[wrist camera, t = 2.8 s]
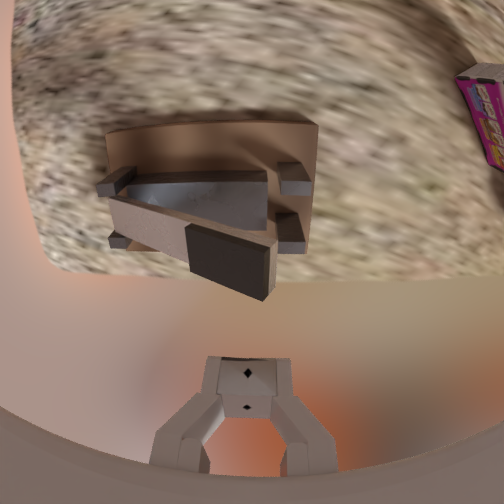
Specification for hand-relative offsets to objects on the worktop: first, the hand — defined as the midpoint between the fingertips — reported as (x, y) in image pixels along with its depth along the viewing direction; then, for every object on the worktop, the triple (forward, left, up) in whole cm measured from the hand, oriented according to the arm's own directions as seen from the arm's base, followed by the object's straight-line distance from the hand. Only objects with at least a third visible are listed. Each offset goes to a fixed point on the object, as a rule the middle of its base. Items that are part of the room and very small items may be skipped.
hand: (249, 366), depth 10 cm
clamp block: (-3, -2, -17) cm, 17 cm away
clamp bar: (-4, -3, -10) cm, 11 cm away
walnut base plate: (-3, -2, -19) cm, 19 cm away
